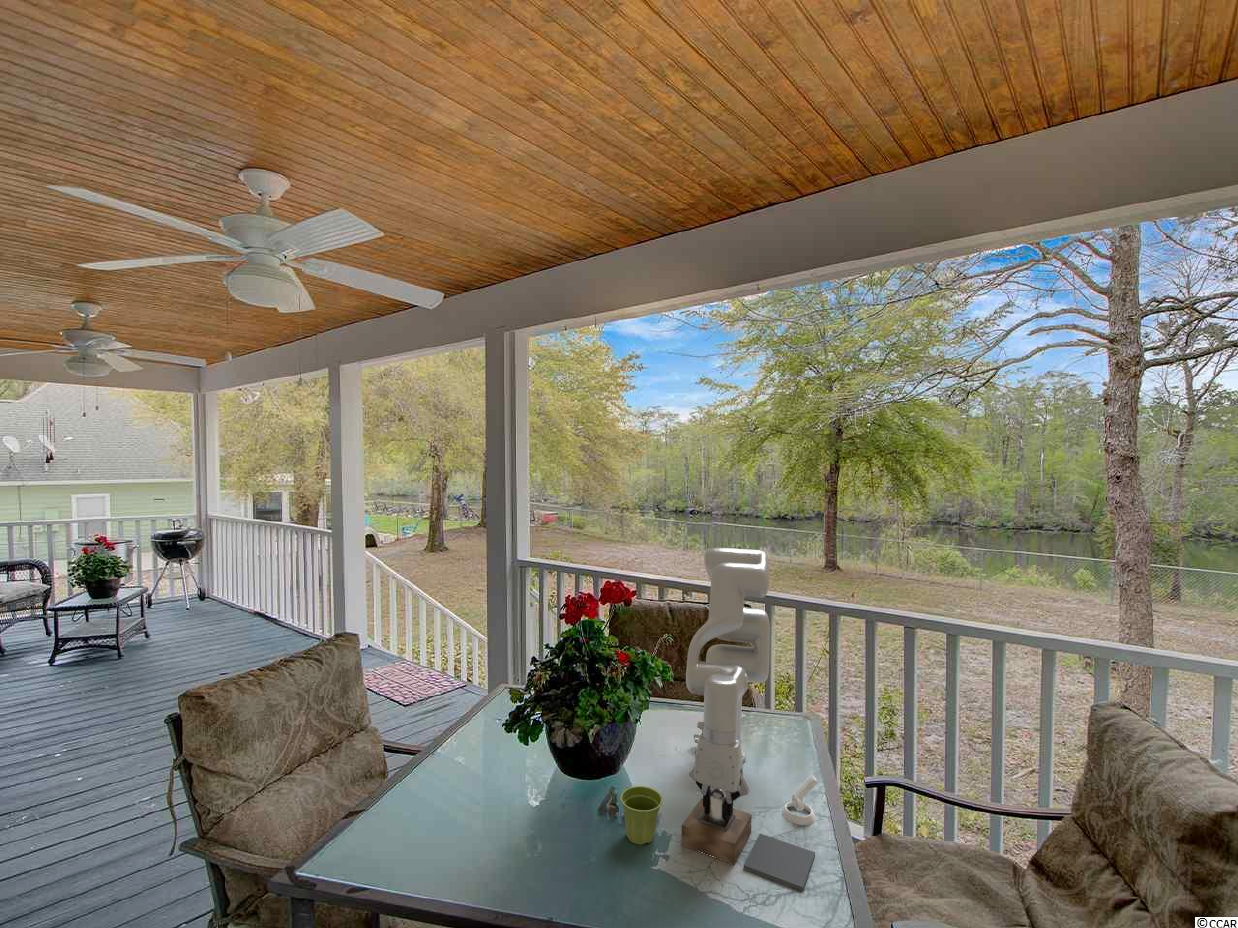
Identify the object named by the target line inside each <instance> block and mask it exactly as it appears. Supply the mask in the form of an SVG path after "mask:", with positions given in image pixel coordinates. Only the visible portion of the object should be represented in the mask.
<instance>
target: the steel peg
mask: <svg viewBox="0 0 1238 928" xmlns="http://www.w3.org/2000/svg"><path fill="white" fill-rule="evenodd" d="M725 801H726V794H725V791H723V790H720V789H717V788H713V789H712V791H711V792H710V795H709V823H712V824H715V825H718V826H721V827H724V828H725V827H726V821H724V819H723V813H724V802H725Z"/></svg>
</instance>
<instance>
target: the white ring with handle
mask: <svg viewBox="0 0 1238 928" xmlns="http://www.w3.org/2000/svg"><path fill="white" fill-rule="evenodd" d="M817 783H818V780H817V778H816V777H815V776H814V775H813V774H810V775H809V776H808V777H807V778H806V779H805V780H804V781H803V783H801V785H799V787H797V789H795V791H794V793H793V794H792V795H791V801H788V802H786V803H785V804H784V806H783V807H782V810H781V813H782V816H783V817H784V819H786V820H787V821H789V822H790V823H793V824H796V825H798V826H809V825H811V824H813V823H815V822H816V814H815V812H814V810H813V808H812V807H811V806H810V805H809V804H807V803H805V802H804V801H803V800H804V798H805V797H806V796H807V794H808V793H810V791H811V790H812V789H813V788H814V787H815V786H816V785H817ZM790 807H794V808H795V809H796V811H799V812H803V811H804V810H806V811H807V812H809V814H808V815H797V814H795V813H793V812H791V811H790V810H789V809H788V808H790Z"/></svg>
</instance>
